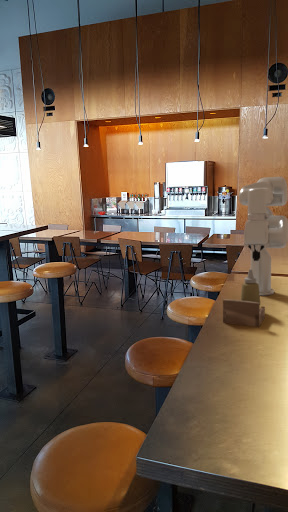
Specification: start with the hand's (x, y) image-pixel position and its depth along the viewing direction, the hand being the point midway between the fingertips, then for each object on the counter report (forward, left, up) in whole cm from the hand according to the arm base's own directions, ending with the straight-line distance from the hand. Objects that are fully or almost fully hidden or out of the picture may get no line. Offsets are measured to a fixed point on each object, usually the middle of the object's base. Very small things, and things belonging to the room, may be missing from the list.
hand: (256, 260), depth 157 cm
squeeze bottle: (+11, 0, -20) cm, 23 cm away
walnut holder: (+21, 0, -20) cm, 29 cm away
